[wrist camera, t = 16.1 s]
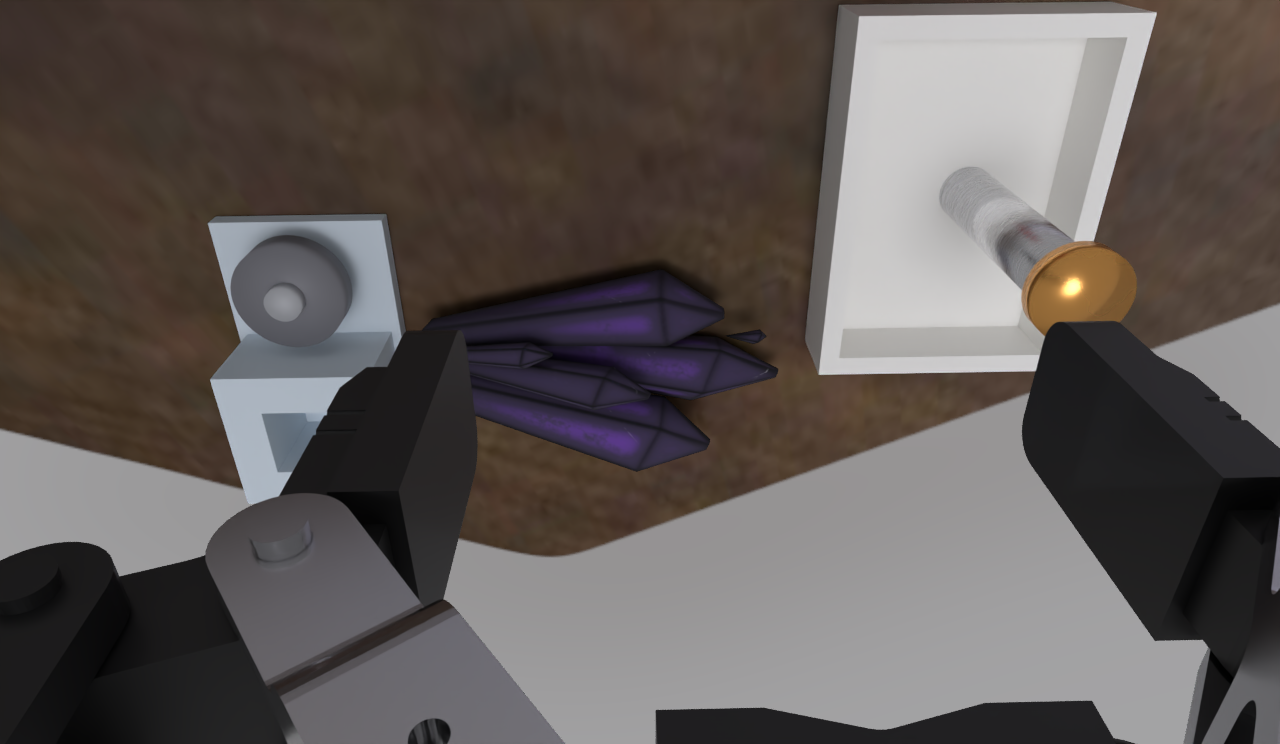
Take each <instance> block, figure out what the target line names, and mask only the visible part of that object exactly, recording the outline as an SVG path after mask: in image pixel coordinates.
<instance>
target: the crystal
mask: <svg viewBox="0 0 1280 744" xmlns="http://www.w3.org/2000/svg"><path fill="white" fill-rule="evenodd" d="M722 319H724V308H723V307H721V306H719V305H718V304H716V303H715V302H713V301H711V300H710V299H708V298H707V297H705V296H704V295H702V294H700V293H699V292H697V291H696V290H694V289H693V288H691V287H689V286H688V285H686V284H685V283H683V282H681V281H680V280H678V279H677V278H675V277H674V276H672V275H670V274H669V273H667V272H666V271H664V270H663V269H661V270H656V271H651V272H647V273H642V274H638V275H633V276H628V277H624V278H619V279H615V280H610V281H605V282H601V283H596V284H591V285H587V286H582V287H578V288H573V289H568V290H564V291H559V292H555V293H550V294H545V295H541V296H536V297H531V298H527V299H522V300H518V301H513V302H508V303H504V304H499V305H495V306H490V307H485V308H481V309H476V310H471V311H467V312H462V313H458V314H453V315H448V316H444V317H439V318H434V319H432V320H431V321H430V322H429V323H428V324H427V325H426V326H425V327H424V328H423V329H422V331H435V330H461V331H462V333H463V335H464V338H465V342H466V348H467V355H468V363H469V371H470V379H471V387H472V395H473V402H474V410H475V416H478V417H481V418H484V419H487V420H489V421H492V422H495V423H498V424H501V425H504V426H507V427H510V428H512V429H515V430H518V431H521V432H524V433H527V434H530V435H533V436H535V437H538V438H541V439H544V440H547V441H550V442H553V443H556V444H559V445H561V446H564V447H567V448H570V449H573V450H576V451H579V452H582V453H584V454H587V455H590V456H593V457H596V458H599V459H602V460H605V461H608V462H610V463H613V464H616V465H619V466H622V467H625V468H628V469H631V470H633V471H636V472H637V471H640V470H643V469H646V468H650V467H653V466H656V465H659V464H662V463H665V462H669V461H672V460H675V459H678V458H681V457H684V456H688V455H691V454H694V453H697V452H700V451H703V450H706V449H707V447H708V445H709V442H710V439H709V438H708V437H707V436H706V435H705V434H704V433H703V432H702V431H701V430H700V429H699V428H697V427H696V426H695V425H694V424H693V423H692V422H691V421H690V420H689V419H688V418H687V417H686V416H685V415H684V414H683V413H681V412H680V411H679V410H678V409H677V408H676V407H675V406H674V405H673V404H672V403H671V402H670V401H669V400H668V399H667V398H666V397H663V396H657V395H651V393H654V394H660V395H665V396H671V397H676V398H682V399H687V400H693V399H697V398H701V397H705V396H708V395H712V394H716V393H719V392H723V391H727V390H731V389H734V388H738V387H742V386H745V385H749V384H753V383H757V382H760V381H764V380H768V379H771V378H775V377H776V375H777V373H778V368H776V367H774V366H772V365H770V364H768V363H766V362H764V361H762V360H760V359H758V358H756V357H755V356H753V355H751V354H749V353H747V352H745V351H743V350H741V349H739V348H737V347H735V346H734V345H732V344H730V343H728V342H726V341H724V340H722V339H720V338H718V337H714V336H693V335H691V334H693V333H695V332H697V331H699V330H701V329H703V328H706V327H708V326H710V325H712V324H714V323H716V322H718V321H720V320H722ZM727 337H730V338H734V339H738V340H741V341H745V342H748V343H752V344H755V343H758V342H760V341H761V340H762V339H764V338H765V337H766V335H765V334H764V333H763V332H762V331H761V330H754V331H749V332H743V333H738V334H732V335H727Z"/></svg>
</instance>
